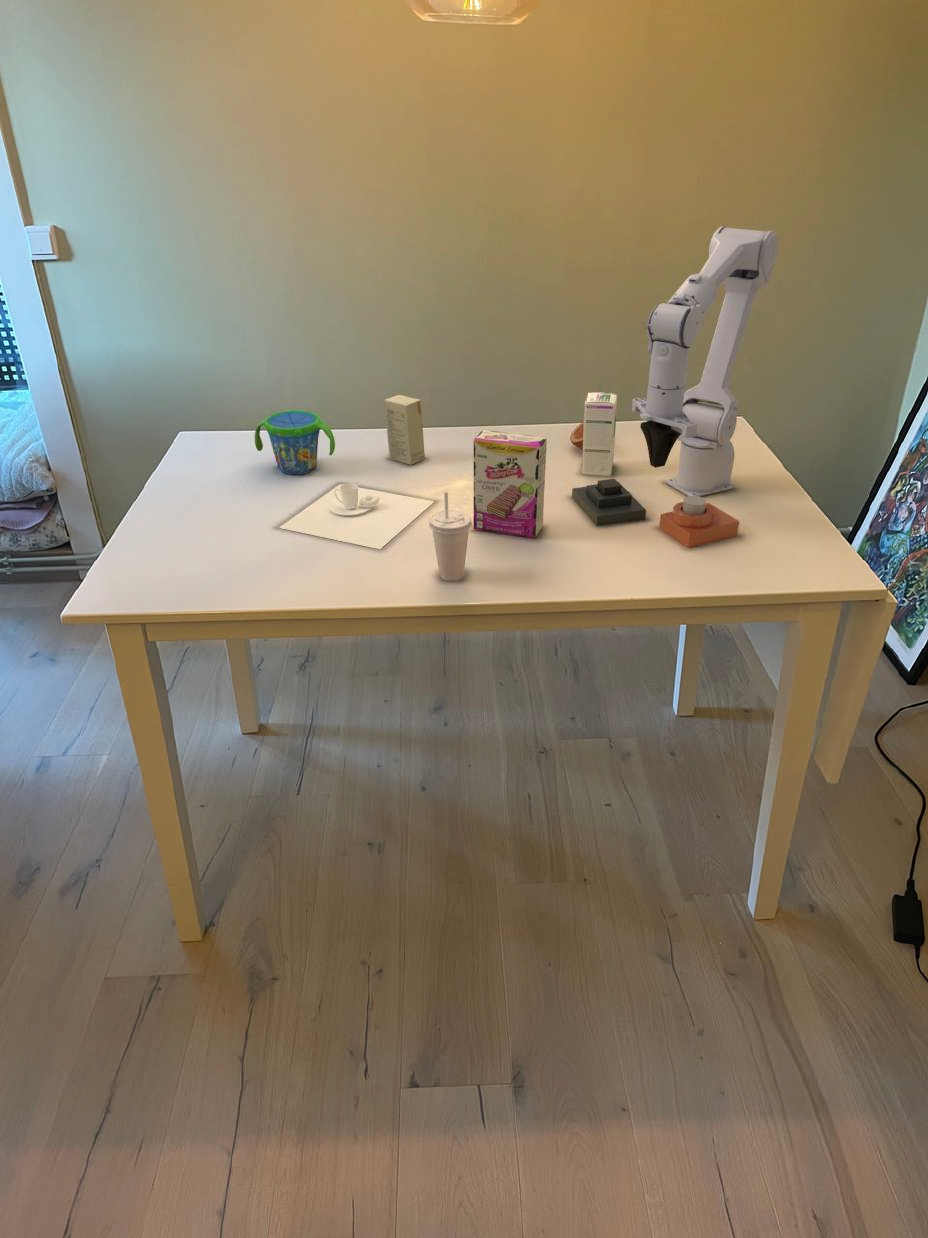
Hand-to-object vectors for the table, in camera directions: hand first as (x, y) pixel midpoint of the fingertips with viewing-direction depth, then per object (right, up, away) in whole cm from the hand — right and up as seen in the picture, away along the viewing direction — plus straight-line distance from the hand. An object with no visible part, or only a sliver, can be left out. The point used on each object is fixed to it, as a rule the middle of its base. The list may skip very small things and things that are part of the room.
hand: (657, 465), depth 144 cm
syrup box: (-6, +3, +25) cm, 26 cm away
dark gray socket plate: (-7, -6, +10) cm, 14 cm away
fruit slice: (-7, +11, +32) cm, 35 cm away
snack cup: (-65, +4, +28) cm, 71 cm away
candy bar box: (-25, -10, +4) cm, 27 cm away
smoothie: (-34, -19, -9) cm, 40 cm away
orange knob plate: (+7, -11, +2) cm, 13 cm away
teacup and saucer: (-51, -7, +10) cm, 52 cm away
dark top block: (-7, -3, +9) cm, 11 cm away
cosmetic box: (-44, +7, +31) cm, 54 cm away
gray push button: (+6, -8, -1) cm, 10 cm away
